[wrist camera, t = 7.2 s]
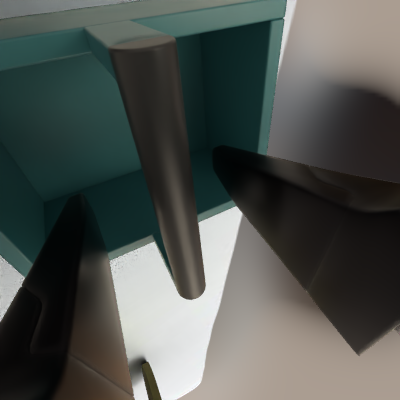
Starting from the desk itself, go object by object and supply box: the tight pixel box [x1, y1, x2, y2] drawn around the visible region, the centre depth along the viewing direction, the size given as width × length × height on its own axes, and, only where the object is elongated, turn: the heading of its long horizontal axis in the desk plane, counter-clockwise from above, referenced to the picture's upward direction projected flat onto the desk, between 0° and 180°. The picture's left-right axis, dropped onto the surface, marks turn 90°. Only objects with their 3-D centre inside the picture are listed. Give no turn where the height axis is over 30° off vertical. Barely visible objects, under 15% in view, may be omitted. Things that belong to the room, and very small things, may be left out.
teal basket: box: [0, 0, 287, 300], centre depth 10 cm, size 9×12×10 cm
